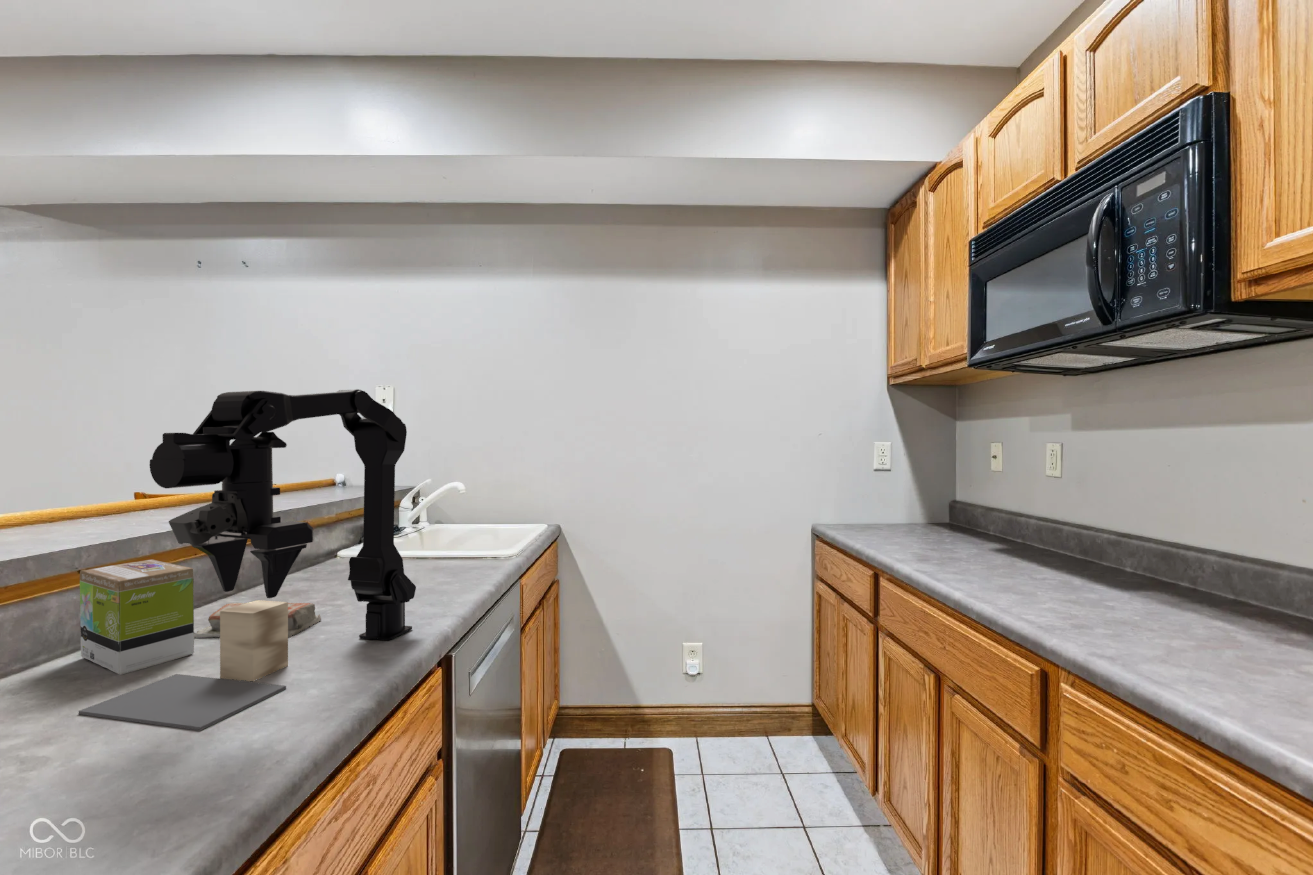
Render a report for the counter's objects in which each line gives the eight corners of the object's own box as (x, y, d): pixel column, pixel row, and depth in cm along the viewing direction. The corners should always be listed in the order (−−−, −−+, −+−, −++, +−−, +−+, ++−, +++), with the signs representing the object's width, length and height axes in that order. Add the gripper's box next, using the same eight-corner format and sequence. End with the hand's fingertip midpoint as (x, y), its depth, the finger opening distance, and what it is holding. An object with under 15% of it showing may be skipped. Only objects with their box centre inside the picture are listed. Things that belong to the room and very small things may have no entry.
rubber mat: (176, 676, 85) (176, 673, 85) (286, 688, 80) (286, 685, 80) (78, 713, 73) (78, 710, 73) (200, 730, 68) (200, 727, 68)
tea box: (77, 659, 92) (77, 569, 92) (154, 640, 101) (154, 557, 101) (117, 676, 85) (117, 578, 85) (196, 654, 94) (196, 565, 94)
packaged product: (323, 597, 112) (290, 613, 102) (323, 622, 112) (290, 639, 102) (232, 598, 112) (191, 613, 102) (232, 622, 112) (191, 640, 102)
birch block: (257, 662, 90) (257, 599, 90) (288, 665, 89) (288, 601, 89) (220, 678, 84) (220, 610, 84) (252, 681, 83) (252, 613, 83)
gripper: (137, 485, 74) (139, 603, 74) (226, 488, 67) (228, 619, 67) (229, 478, 85) (231, 582, 85) (315, 481, 77) (317, 595, 77)
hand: (249, 594), depth 78 cm, fingers open, 9 cm apart
